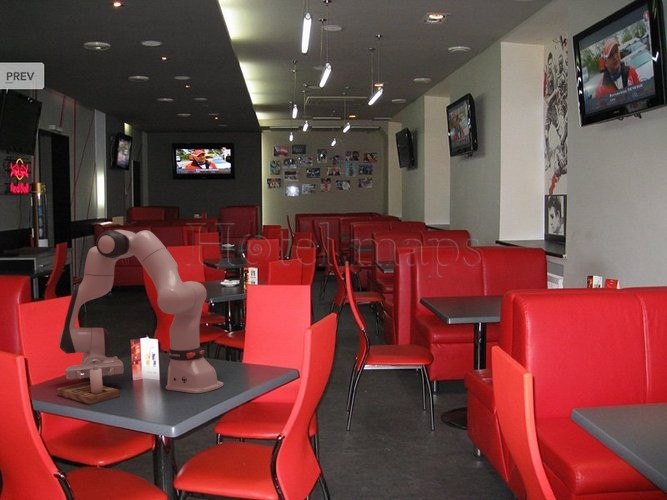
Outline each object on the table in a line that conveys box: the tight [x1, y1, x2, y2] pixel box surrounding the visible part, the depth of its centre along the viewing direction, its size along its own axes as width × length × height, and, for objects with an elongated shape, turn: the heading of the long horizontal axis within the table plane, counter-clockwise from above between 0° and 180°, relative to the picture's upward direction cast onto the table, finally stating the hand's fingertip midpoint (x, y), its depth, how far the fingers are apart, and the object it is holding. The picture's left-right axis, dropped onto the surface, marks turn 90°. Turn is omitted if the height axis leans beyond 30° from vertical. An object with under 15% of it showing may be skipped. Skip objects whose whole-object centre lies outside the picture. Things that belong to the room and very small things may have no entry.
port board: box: [56, 381, 121, 406], centre depth 242 cm, size 21×12×3 cm, turn 52°
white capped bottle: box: [89, 365, 104, 395], centre depth 237 cm, size 4×4×12 cm
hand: (95, 374), depth 241 cm, fingers open, 8 cm apart
